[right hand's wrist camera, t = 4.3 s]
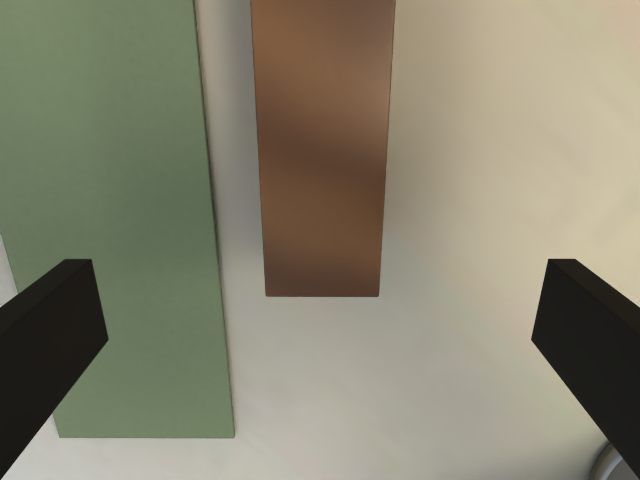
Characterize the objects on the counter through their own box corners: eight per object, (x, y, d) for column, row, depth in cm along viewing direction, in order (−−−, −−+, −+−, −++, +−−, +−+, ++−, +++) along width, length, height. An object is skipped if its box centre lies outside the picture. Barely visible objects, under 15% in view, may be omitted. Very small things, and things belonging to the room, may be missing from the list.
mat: (184, -113, 22) (181, -116, 22) (235, 434, 35) (234, 438, 35) (-93, -113, 22) (-100, -116, 22) (62, 434, 35) (59, 438, 35)
